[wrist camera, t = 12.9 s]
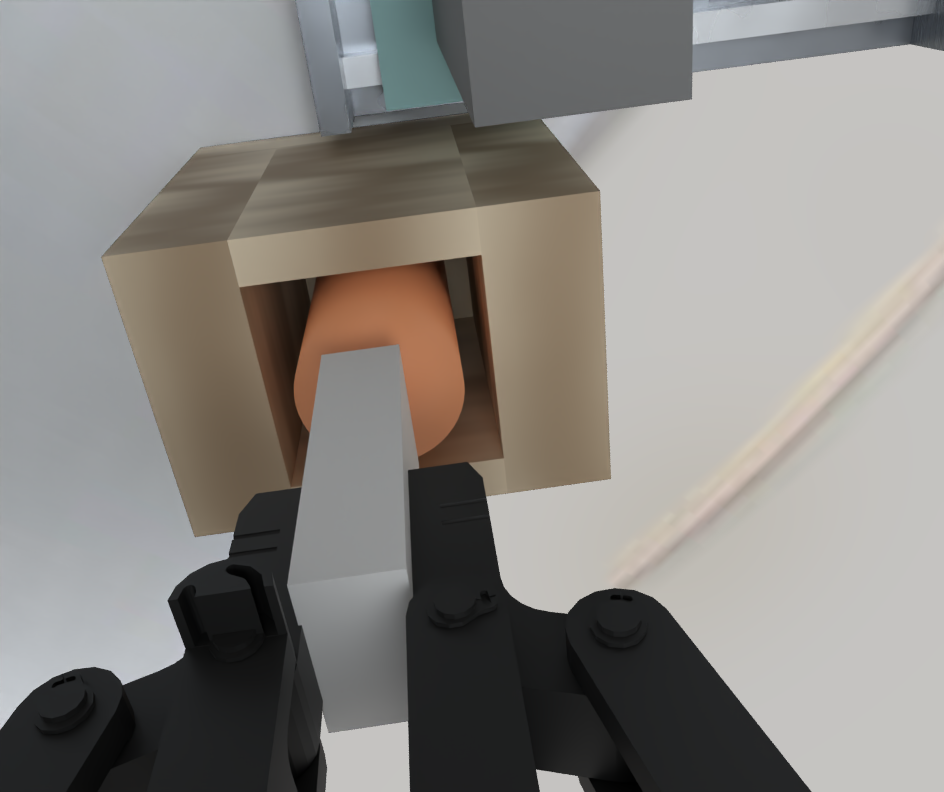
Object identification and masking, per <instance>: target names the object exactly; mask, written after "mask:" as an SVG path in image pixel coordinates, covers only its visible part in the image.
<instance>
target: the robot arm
mask: <svg viewBox="0 0 944 792" xmlns="http://www.w3.org/2000/svg"><path fill="white" fill-rule="evenodd" d="M233 537H234V540H232V543H231V547H230V551H229V558H228V559H226V560H222V561H219V562H215V563H211V564H208V565H206V566H204V567H202V568H200V569H199V570H197V571H195V572H193V573H191V574H190V575H188V576H187V577H186V578H185V579H184V580H183V581H182V582H180V583H179V584H178V585H177V586H176V587H175V589H174V591H173V592H172V594H171V596H170V598H169V599H168V603H169V606H170V609H171V611H172V614H173V616H174V619H175V622H176V624H177V627H178V630H179V632H180V635H181V638H182V640H183V643H184V646H185V648H186V649H185V653H184V657H183V658H182V659H180V660H179V661H177V662H176V663H174V664H173V665H171V666H169V667H166V668H164V669H162V670H160V671H158V672H156V673H153V674H150V675H148V676H145V677H143V678H140V679H138V680H135V681H132V682H130V683H127V684H125V685H122V683H121V681H120V680H119V679H118V678H117V677H116V676H115V675H114V674H113V673H112V672H111V671H109V670H105V669H101V668H96V667H91V668H82V669H74V670H72V671H69V672H67V673H64V674H61V675H59V676H56V677H53V678H52V679H50V680H49V681H47V682H46V683H44V684H43V685H41V686H40V687H38V688H36V689H35V690H33V691H32V692H31V693H30V695H29V696H28V697H27V698H26V699H25V700H24V701H23V702H22V703H21V704H20V705H19V706H18V707H17V708H16V710H15V711H14V712H13V714H12V715H11V716H10V718H9V719H8V720H7V722H6V723H5V724H4V726H3V727H2V729H1V730H0V792H325V788H326V773H327V765H326V759H325V753H324V750H323V746H322V743H321V740H320V732H321V719H322V711H323V715H324V718H325V722H326V725H327V729H328V732H329V733H331V732H339V731H345V730H352V729H359V728H366V727H373V726H379V725H385V724H392V723H399V722H406V721H408V728H409V767H410V768H409V769H410V792H540V790H539V785H538V779H537V773H536V769H537V770H544V771H551V772H556V773H562V774H569V775H575V776H578V778H579V781H580V784H581V786H582V788H583V790H584V792H811V791H810V789H809V788H808V787H807V786H806V784H805V783H804V782H803V781H802V779H801V778H800V777H799V775H798V774H797V773H796V772H795V771H794V769H793V768H792V767H791V765H790V764H789V763H788V762H787V760H786V759H785V758H784V757H783V755H782V754H781V753H780V752H779V750H778V749H777V748H776V747H775V745H774V744H773V743H772V741H771V740H770V739H769V738H768V736H767V735H766V734H765V733H764V731H763V730H762V729H761V728H760V726H759V725H758V724H757V722H756V721H755V720H754V719H753V718H752V716H751V715H750V714H749V712H748V711H747V710H746V709H745V707H744V706H743V705H742V704H741V703H740V701H739V700H738V698H737V697H736V696H735V695H734V694H733V692H732V691H731V690H730V688H729V687H728V686H727V685H726V684H725V682H724V681H723V680H722V678H721V677H720V676H719V675H718V673H717V672H716V671H715V669H714V668H713V667H712V666H711V664H710V663H709V662H708V661H707V659H706V658H705V657H704V656H703V654H702V653H701V652H700V651H699V649H698V648H697V647H696V645H695V644H694V643H693V642H692V641H691V639H690V638H689V637H688V635H687V634H686V633H685V632H684V630H683V629H682V628H681V627H680V625H679V624H678V623H677V622H676V620H675V619H674V618H673V616H672V615H671V614H670V613H669V611H668V610H667V609H666V608H665V607H663V606H662V605H661V604H660V603H659V602H658V601H656V600H655V599H654V598H653V597H650V596H648V595H645V594H643V593H640V592H638V591H635V590H627V589H616V588H614V589H608V590H602V591H597V592H594V593H592V594H590V595H588V596H586V597H584V598H582V599H580V600H579V601H578V602H577V603H576V604H575V605H574V607H573V608H572V609H571V610H570V611H569V612H568V614H564V613H555V612H547V611H542V610H537V609H533V608H531V607H528V606H526V605H524V604H522V603H520V602H519V601H517V600H516V599H515V598H513V597H512V596H511V595H510V594H509V593H508V592H507V590H506V589H505V588H504V586H503V583H502V580H501V578H500V572H499V567H498V561H497V555H496V550H495V544H494V538H493V533H492V527H491V521H490V516H489V511H488V504H487V499H486V493H485V487H484V482H483V477H482V476H481V475H480V474H479V473H478V472H477V471H476V470H475V469H474V468H473V467H472V466H471V465H470V464H469V463H468V462H462V463H455V464H447V465H440V466H433V467H426V468H419V461H418V455H417V449H416V443H415V437H414V431H413V425H412V419H411V413H410V407H409V401H408V395H407V389H406V383H405V377H404V371H403V365H402V359H401V353H400V347H399V344H397V345H390V346H383V347H376V348H368V349H361V350H354V351H346V352H339V353H332V354H325V355H321V362H320V369H319V375H318V382H317V389H316V395H315V402H314V409H313V415H312V422H311V429H310V436H309V442H308V449H307V456H306V462H305V469H304V476H303V482H302V487H299V488H292V489H285V490H278V491H271V492H264V493H257V494H255V495H254V497H253V498H252V499H251V500H250V501H249V503H248V504H247V505H246V506H245V507H244V509H243V510H242V511H241V512H240V513H239V515H238V519H237V523H236V527H235V531H234V535H233Z"/></svg>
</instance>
